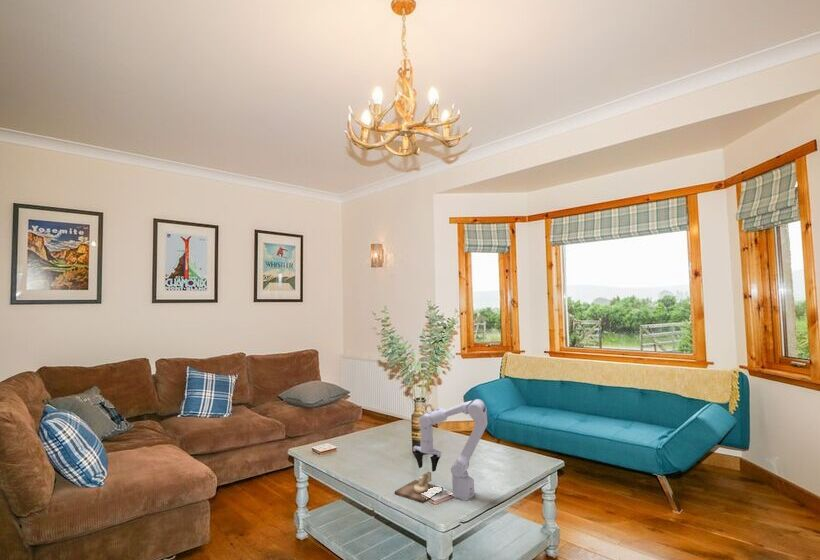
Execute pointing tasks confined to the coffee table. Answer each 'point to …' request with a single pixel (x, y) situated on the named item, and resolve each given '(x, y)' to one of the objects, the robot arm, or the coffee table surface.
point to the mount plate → (412, 491)
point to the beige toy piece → (422, 483)
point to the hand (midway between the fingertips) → (427, 469)
